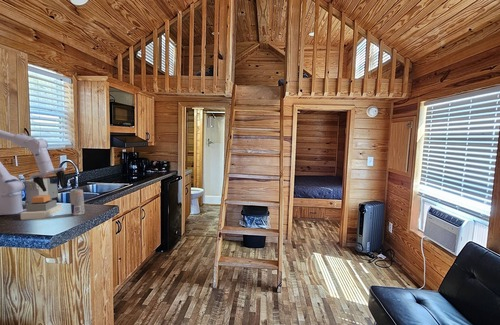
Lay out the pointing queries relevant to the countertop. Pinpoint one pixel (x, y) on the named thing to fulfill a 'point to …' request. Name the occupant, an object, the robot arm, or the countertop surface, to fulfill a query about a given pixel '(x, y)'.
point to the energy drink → (77, 202)
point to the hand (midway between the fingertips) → (53, 188)
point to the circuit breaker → (39, 189)
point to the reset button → (40, 198)
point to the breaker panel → (41, 210)
